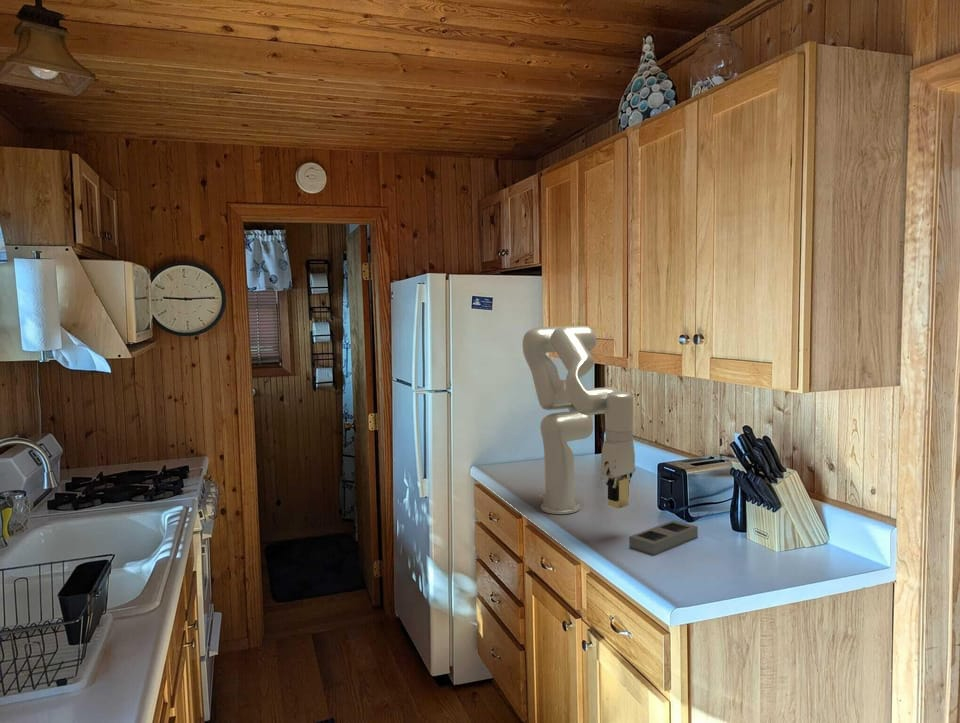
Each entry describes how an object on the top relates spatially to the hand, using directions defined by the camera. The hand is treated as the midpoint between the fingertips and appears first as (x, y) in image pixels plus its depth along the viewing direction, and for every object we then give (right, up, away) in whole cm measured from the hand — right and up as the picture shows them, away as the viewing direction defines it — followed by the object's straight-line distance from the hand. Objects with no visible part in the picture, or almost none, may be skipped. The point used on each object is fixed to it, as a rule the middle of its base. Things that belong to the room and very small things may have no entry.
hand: (618, 497), depth 194 cm
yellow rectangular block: (0, -2, 0) cm, 2 cm away
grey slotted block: (+12, -11, -6) cm, 17 cm away
